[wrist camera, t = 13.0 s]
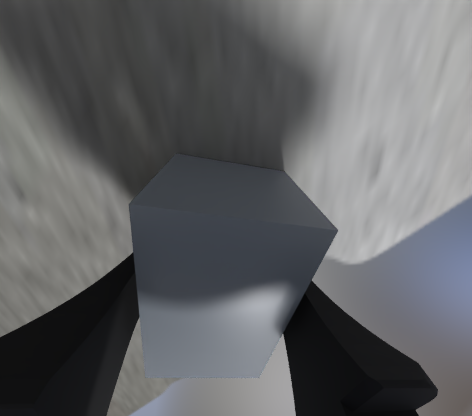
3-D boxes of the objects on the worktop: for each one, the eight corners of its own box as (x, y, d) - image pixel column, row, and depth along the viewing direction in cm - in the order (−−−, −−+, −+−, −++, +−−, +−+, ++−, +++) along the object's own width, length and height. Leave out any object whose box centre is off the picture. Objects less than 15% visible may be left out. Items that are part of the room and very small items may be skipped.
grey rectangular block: (284, 171, 11) (338, 230, 6) (247, 289, 16) (259, 378, 11) (176, 153, 10) (128, 204, 5) (171, 283, 15) (145, 377, 10)
